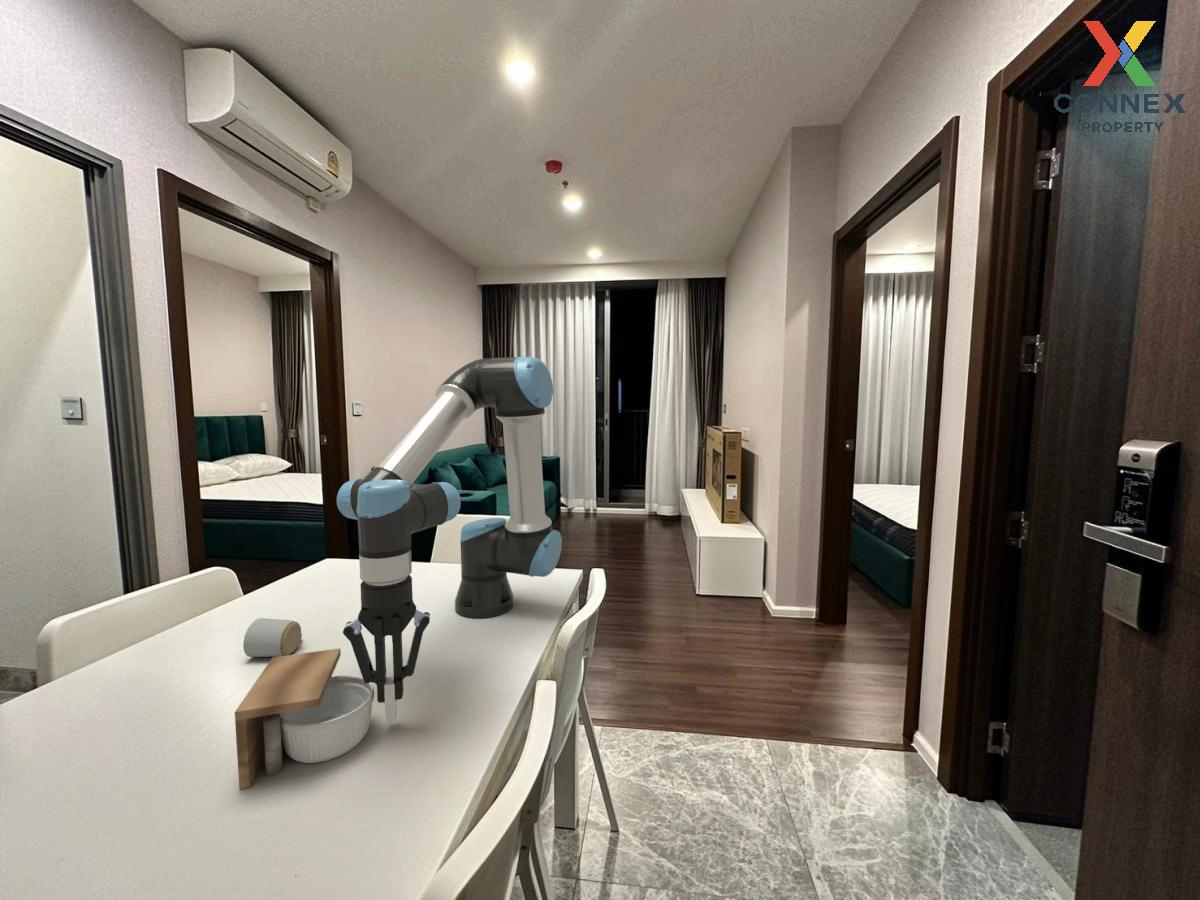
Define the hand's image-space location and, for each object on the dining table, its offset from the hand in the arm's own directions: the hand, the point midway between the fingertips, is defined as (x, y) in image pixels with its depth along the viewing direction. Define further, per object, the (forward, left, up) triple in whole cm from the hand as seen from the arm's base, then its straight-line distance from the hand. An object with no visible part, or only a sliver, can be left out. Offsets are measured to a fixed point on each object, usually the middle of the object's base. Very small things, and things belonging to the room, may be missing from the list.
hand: (391, 718), depth 78 cm
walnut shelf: (+14, 0, -2) cm, 14 cm away
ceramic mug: (+26, -35, -2) cm, 43 cm away
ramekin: (+9, 0, -2) cm, 9 cm away
